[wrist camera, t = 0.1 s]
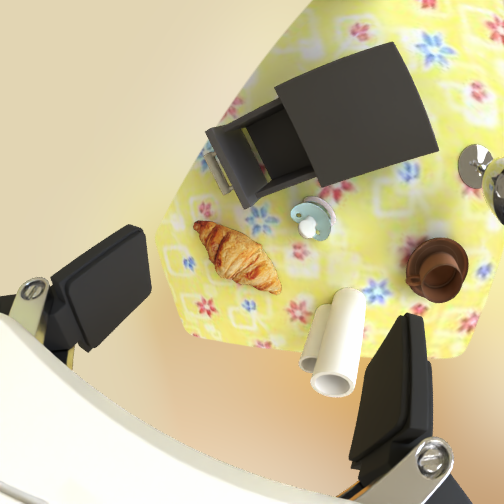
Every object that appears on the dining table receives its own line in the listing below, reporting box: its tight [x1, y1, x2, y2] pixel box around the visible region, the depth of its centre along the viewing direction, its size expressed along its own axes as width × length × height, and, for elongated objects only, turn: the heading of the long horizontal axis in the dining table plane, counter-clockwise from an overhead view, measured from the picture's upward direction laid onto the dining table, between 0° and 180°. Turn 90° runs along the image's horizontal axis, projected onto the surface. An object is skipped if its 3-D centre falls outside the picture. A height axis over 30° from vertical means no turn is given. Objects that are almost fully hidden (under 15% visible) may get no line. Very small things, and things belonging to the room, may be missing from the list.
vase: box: [299, 288, 366, 397], centre depth 45 cm, size 11×7×20 cm, turn 149°
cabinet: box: [274, 42, 439, 187], centre depth 32 cm, size 16×14×11 cm
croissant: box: [193, 221, 282, 295], centre depth 54 cm, size 21×10×8 cm, turn 57°
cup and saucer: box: [406, 238, 468, 303], centre depth 39 cm, size 12×12×6 cm
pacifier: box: [291, 196, 336, 241], centre depth 44 cm, size 7×6×6 cm
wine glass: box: [458, 144, 504, 225], centre depth 25 cm, size 8×8×15 cm
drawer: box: [204, 98, 317, 209], centre depth 39 cm, size 19×12×9 cm, turn 119°
